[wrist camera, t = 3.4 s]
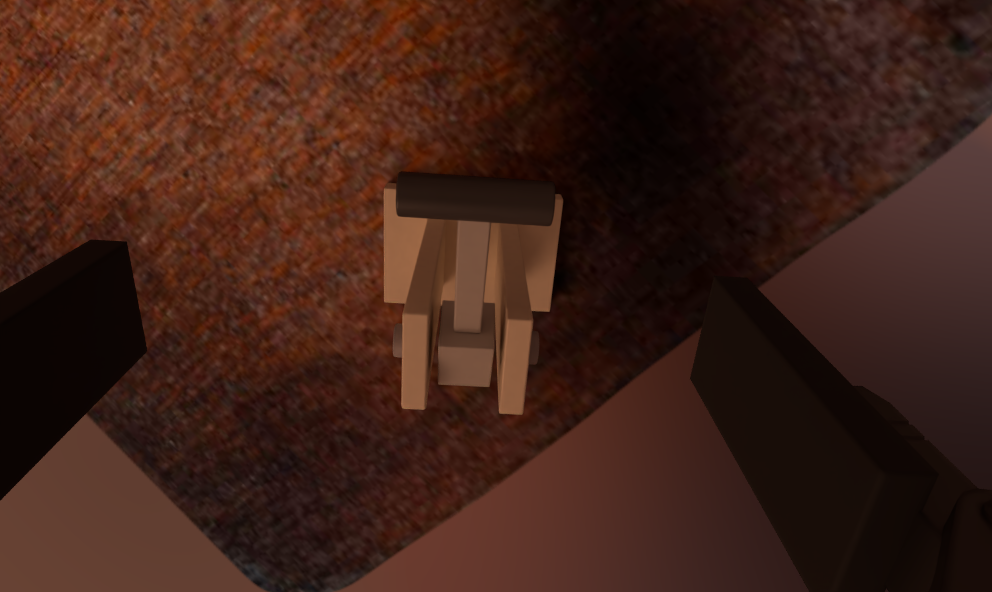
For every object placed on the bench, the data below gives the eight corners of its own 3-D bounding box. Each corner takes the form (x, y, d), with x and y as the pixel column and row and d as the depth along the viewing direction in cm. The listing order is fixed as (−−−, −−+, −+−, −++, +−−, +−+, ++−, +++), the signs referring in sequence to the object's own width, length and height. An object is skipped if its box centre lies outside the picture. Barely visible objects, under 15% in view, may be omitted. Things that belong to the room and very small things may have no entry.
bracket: (386, 182, 35) (334, 277, 23) (560, 194, 36) (603, 293, 23) (386, 294, 38) (340, 432, 26) (547, 303, 39) (579, 443, 26)
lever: (401, 152, 20) (392, 202, 19) (553, 163, 20) (557, 212, 19) (410, 337, 28) (404, 383, 26) (521, 343, 28) (522, 389, 27)
